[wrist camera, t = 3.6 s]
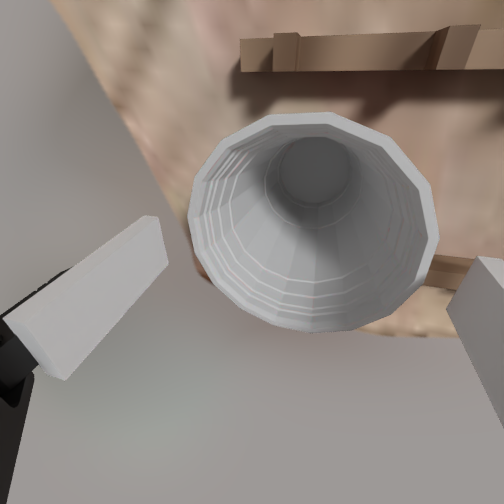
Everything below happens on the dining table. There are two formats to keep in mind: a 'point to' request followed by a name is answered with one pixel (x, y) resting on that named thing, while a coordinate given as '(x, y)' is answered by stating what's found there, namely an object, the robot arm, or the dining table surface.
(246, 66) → the comb channel
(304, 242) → the plastic cup
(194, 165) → the dining table surface
